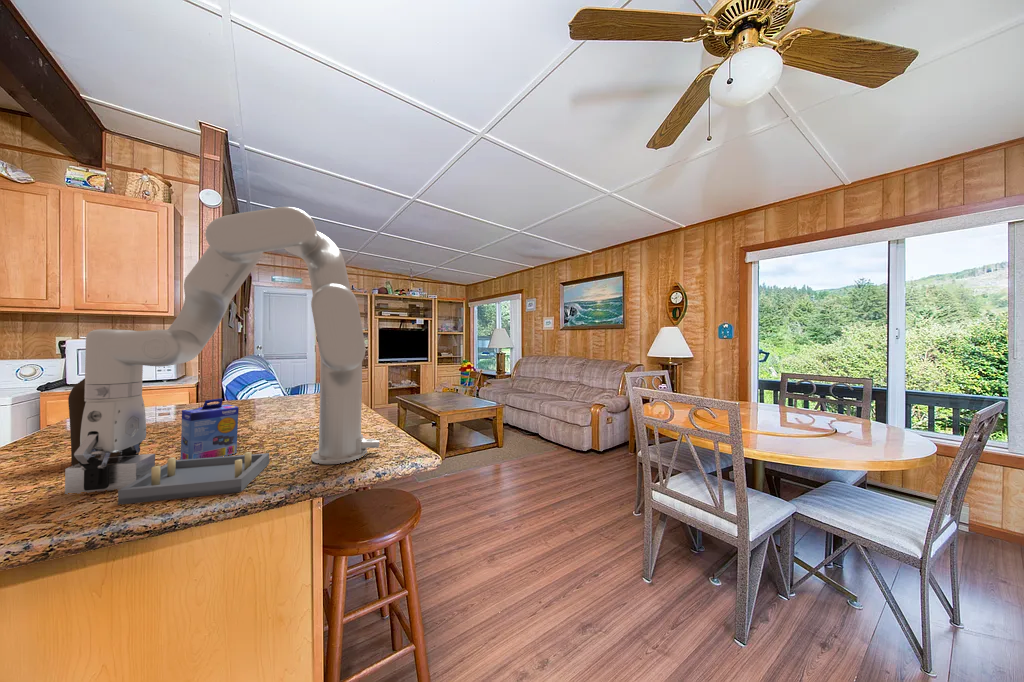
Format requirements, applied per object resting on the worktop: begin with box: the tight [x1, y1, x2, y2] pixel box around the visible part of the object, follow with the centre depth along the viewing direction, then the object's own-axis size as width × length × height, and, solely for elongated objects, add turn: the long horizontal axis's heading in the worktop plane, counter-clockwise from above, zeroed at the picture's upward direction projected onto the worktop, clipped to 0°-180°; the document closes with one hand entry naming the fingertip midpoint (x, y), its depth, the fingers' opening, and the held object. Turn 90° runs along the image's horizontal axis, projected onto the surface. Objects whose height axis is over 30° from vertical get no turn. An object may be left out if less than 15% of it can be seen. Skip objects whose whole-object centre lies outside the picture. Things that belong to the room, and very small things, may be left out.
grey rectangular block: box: [64, 453, 156, 495], centre depth 69 cm, size 10×6×5 cm, turn 110°
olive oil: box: [67, 377, 121, 466], centre depth 82 cm, size 11×11×25 cm
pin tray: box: [117, 451, 270, 506], centre depth 71 cm, size 18×16×4 cm
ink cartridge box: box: [180, 397, 240, 460], centre depth 85 cm, size 10×6×14 cm, turn 152°
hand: (112, 480), depth 69 cm, fingers open, 7 cm apart
